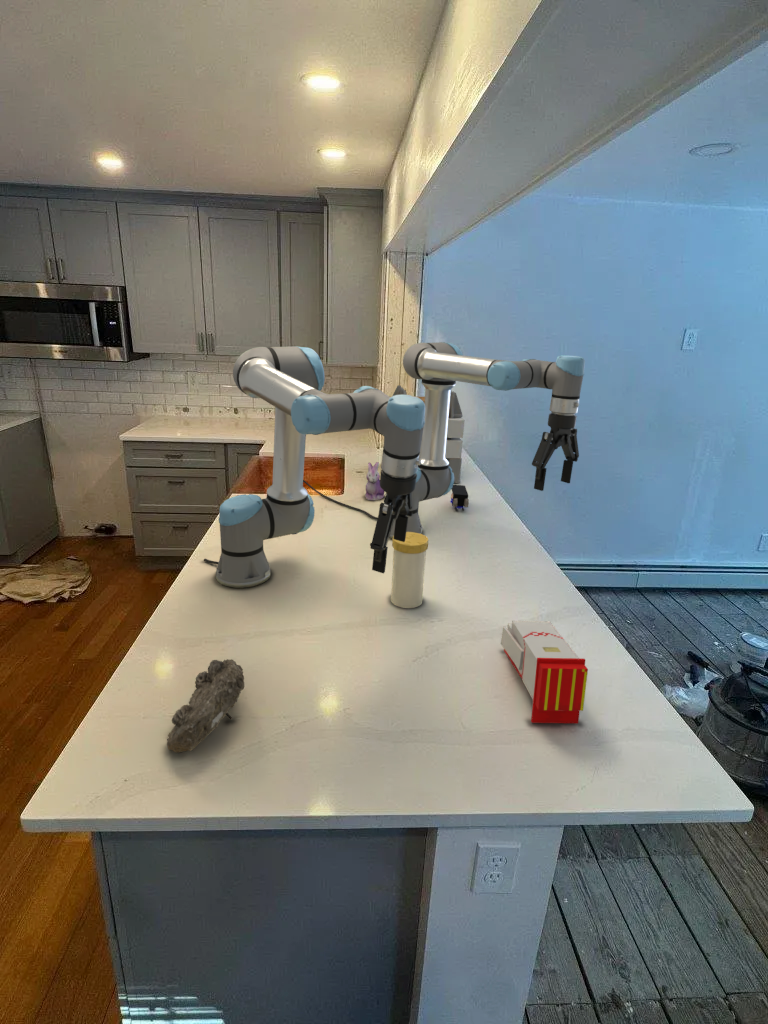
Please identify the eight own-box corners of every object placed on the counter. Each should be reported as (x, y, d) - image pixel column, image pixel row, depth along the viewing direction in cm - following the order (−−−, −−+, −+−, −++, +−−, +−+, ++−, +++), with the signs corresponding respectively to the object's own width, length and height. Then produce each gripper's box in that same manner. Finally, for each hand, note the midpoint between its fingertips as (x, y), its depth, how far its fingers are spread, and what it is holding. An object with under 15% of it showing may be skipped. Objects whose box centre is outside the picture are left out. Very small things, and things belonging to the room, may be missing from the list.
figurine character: (468, 516, 224) (463, 500, 237) (471, 498, 221) (465, 483, 234) (452, 515, 224) (447, 499, 237) (453, 498, 220) (449, 482, 234)
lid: (414, 556, 143) (415, 548, 142) (385, 546, 148) (385, 538, 148) (434, 546, 150) (435, 538, 149) (405, 536, 155) (406, 529, 155)
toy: (547, 606, 135) (596, 665, 106) (541, 658, 138) (589, 729, 108) (496, 604, 134) (532, 664, 105) (492, 657, 137) (526, 729, 108)
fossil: (192, 660, 117) (244, 628, 112) (224, 691, 120) (276, 661, 115) (142, 746, 98) (202, 712, 93) (182, 779, 101) (242, 748, 96)
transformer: (382, 463, 289) (386, 382, 275) (445, 464, 293) (451, 384, 279) (390, 482, 257) (394, 392, 243) (460, 483, 261) (468, 394, 247)
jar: (410, 611, 149) (414, 549, 143) (384, 600, 154) (387, 540, 148) (428, 599, 156) (433, 539, 149) (402, 589, 160) (406, 531, 154)
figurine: (369, 502, 230) (370, 466, 225) (359, 494, 239) (360, 460, 234) (390, 499, 234) (391, 464, 229) (378, 492, 243) (380, 458, 238)
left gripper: (395, 501, 106) (385, 590, 117) (433, 452, 126) (421, 532, 137) (358, 492, 108) (352, 580, 119) (401, 445, 128) (392, 524, 139)
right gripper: (548, 419, 148) (537, 496, 155) (598, 411, 163) (586, 482, 171) (525, 414, 153) (515, 489, 160) (575, 407, 169) (564, 476, 176)
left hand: (389, 554), depth 128 cm, fingers open, 13 cm apart
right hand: (552, 485), depth 166 cm, fingers open, 13 cm apart
